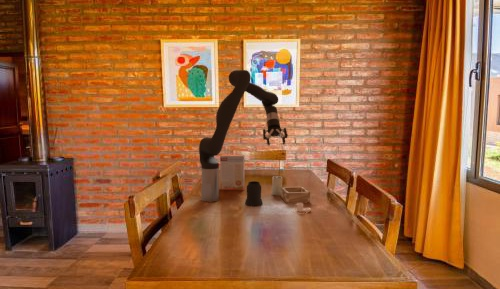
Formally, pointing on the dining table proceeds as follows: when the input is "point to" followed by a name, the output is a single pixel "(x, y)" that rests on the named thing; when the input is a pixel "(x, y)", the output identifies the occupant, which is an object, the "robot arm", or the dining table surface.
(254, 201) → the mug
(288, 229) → the dining table surface
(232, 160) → the cracker box
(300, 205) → the teacup and saucer
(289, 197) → the crate
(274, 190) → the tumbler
